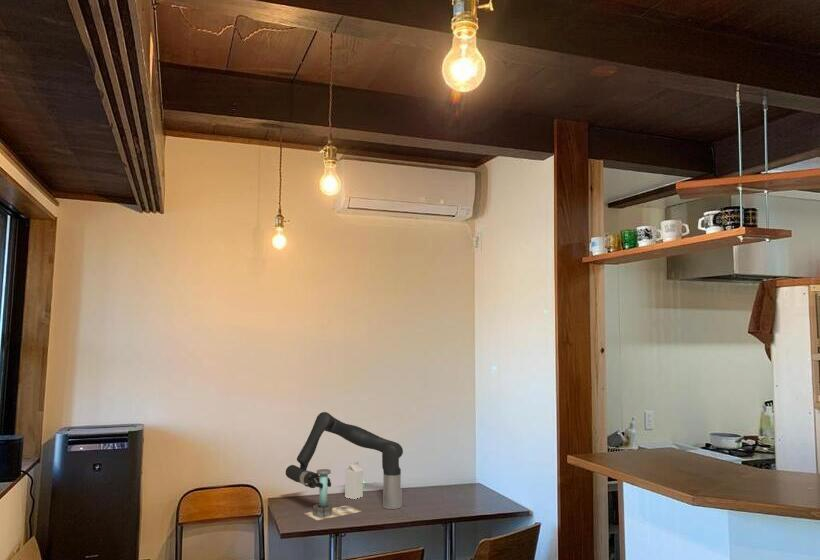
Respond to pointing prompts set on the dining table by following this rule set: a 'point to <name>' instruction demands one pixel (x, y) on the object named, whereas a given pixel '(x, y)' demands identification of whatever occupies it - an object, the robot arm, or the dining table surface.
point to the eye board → (334, 513)
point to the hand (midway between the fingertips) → (326, 485)
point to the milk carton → (354, 481)
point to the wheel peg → (323, 491)
